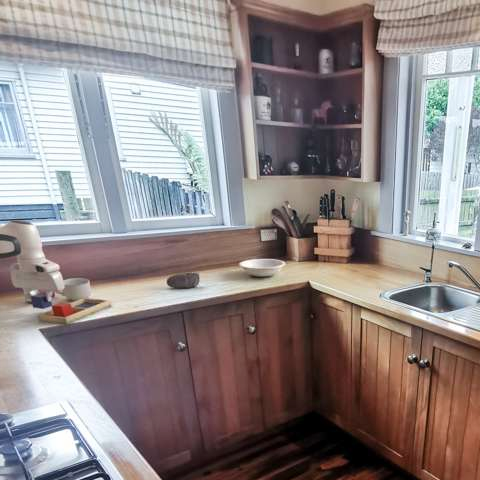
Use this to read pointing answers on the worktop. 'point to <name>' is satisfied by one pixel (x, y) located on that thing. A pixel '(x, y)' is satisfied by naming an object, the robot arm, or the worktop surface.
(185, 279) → the perforated stone tool
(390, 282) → the worktop surface
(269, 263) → the soup bowl
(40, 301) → the navy block
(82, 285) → the teacup
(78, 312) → the tray
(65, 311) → the red block
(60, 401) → the worktop surface
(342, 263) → the worktop surface
